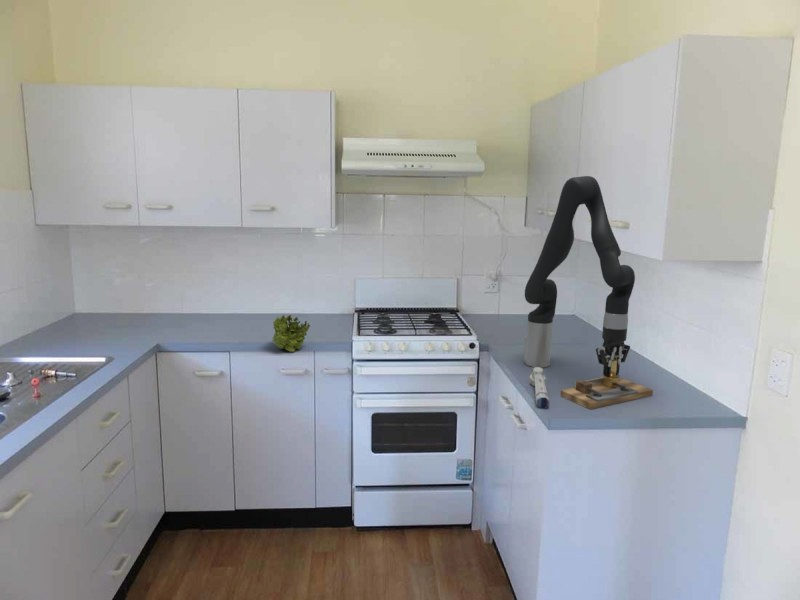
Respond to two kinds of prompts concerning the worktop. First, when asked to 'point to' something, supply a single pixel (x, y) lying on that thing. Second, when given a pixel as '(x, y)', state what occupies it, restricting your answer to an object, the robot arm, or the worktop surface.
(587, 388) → the brown block with stem
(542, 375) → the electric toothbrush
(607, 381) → the gold l-shaped piece
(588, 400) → the board
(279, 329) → the green bumpy lump
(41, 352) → the worktop surface
